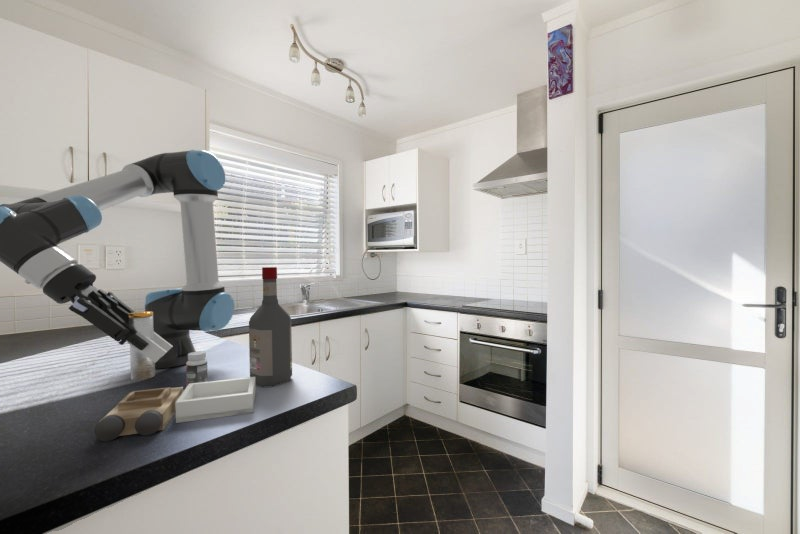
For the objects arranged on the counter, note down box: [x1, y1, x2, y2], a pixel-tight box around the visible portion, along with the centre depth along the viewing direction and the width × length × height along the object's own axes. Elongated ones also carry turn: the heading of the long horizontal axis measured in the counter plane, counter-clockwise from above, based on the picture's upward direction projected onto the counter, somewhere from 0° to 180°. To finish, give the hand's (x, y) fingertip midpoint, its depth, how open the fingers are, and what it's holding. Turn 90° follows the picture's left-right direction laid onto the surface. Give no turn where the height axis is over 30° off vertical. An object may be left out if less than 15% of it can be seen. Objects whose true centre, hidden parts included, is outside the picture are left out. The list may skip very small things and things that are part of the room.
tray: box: [175, 376, 257, 424], centre depth 79 cm, size 12×14×4 cm
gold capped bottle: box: [128, 310, 156, 381], centre depth 74 cm, size 4×4×13 cm
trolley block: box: [93, 386, 184, 442], centre depth 74 cm, size 18×10×4 cm, turn 19°
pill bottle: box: [185, 350, 209, 387], centre depth 93 cm, size 5×5×8 cm
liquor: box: [248, 266, 293, 388], centre depth 96 cm, size 9×9×30 cm
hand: (164, 354), depth 75 cm, fingers closed on gold capped bottle, 4 cm apart
